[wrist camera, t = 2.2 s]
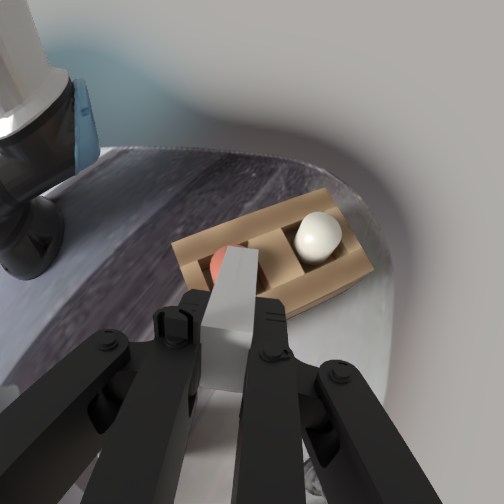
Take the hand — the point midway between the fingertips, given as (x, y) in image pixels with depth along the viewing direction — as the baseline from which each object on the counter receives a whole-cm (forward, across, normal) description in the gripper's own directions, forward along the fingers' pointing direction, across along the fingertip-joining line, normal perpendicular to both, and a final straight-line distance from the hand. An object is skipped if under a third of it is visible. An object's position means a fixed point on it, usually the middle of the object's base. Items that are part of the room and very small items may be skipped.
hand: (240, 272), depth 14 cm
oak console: (+22, +3, -12) cm, 25 cm away
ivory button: (+19, +7, -5) cm, 21 cm away
